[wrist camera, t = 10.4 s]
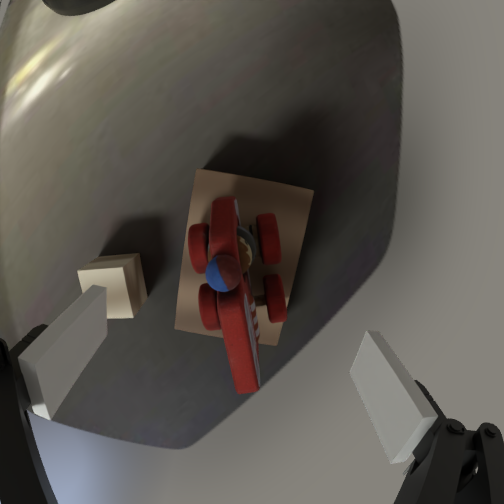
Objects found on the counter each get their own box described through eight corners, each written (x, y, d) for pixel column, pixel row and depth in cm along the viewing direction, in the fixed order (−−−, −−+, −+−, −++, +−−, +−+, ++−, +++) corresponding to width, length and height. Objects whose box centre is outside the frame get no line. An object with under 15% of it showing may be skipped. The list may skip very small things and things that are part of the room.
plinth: (202, 168, 29) (196, 168, 25) (305, 188, 30) (313, 190, 26) (181, 311, 33) (174, 328, 29) (273, 326, 33) (276, 345, 29)
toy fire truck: (270, 188, 26) (288, 200, 16) (285, 322, 29) (303, 393, 19) (188, 199, 26) (153, 218, 16) (212, 331, 29) (199, 404, 19)
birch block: (98, 256, 31) (77, 270, 26) (139, 252, 31) (122, 267, 26) (107, 299, 32) (89, 318, 27) (147, 297, 32) (133, 317, 27)
